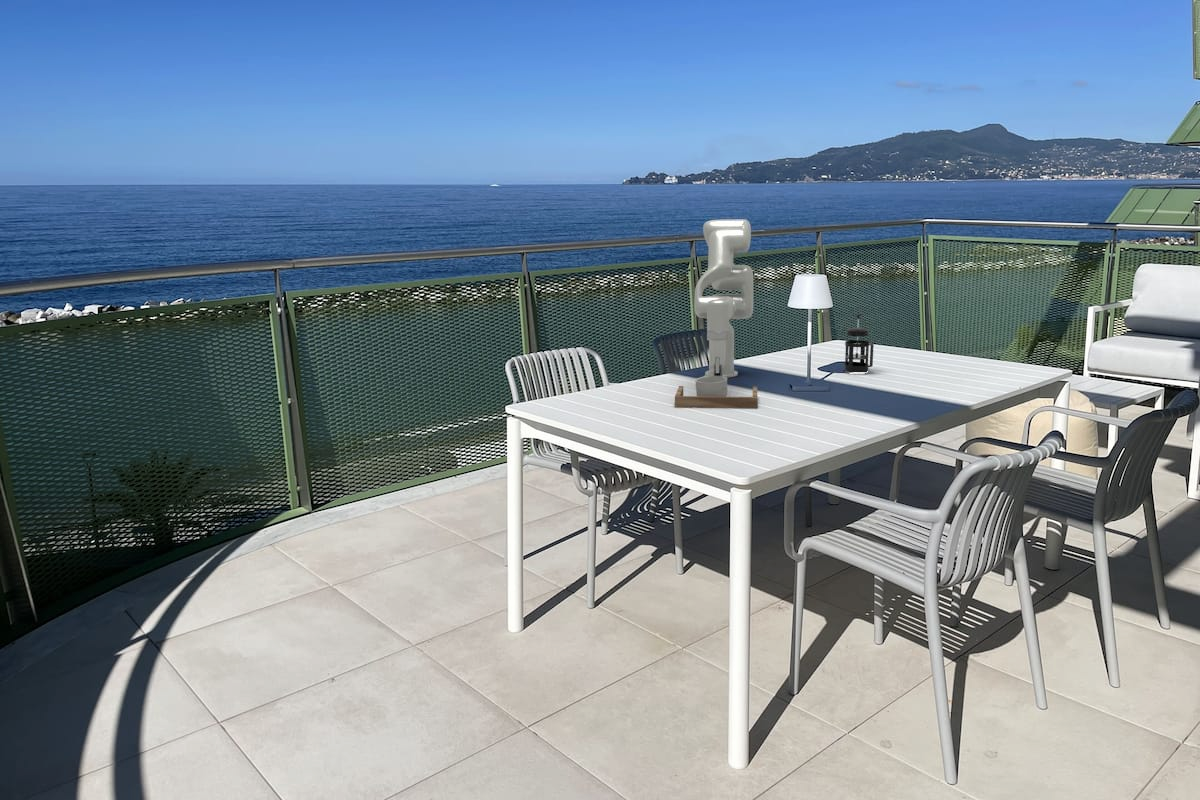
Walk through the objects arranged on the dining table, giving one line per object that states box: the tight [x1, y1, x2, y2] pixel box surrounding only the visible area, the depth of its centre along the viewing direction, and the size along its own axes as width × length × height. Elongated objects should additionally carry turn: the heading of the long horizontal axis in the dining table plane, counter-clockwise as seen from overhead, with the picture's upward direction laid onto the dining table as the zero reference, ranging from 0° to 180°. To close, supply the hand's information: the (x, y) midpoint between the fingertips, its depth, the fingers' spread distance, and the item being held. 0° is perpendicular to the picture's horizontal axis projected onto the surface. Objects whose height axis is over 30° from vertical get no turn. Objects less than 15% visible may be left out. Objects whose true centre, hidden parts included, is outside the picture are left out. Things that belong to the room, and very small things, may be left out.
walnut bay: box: [674, 385, 759, 409], centre depth 292 cm, size 18×27×4 cm, turn 80°
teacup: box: [694, 375, 728, 397], centre depth 293 cm, size 14×11×8 cm
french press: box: [843, 312, 874, 372], centre depth 331 cm, size 12×9×23 cm
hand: (717, 387), depth 300 cm, fingers closed
